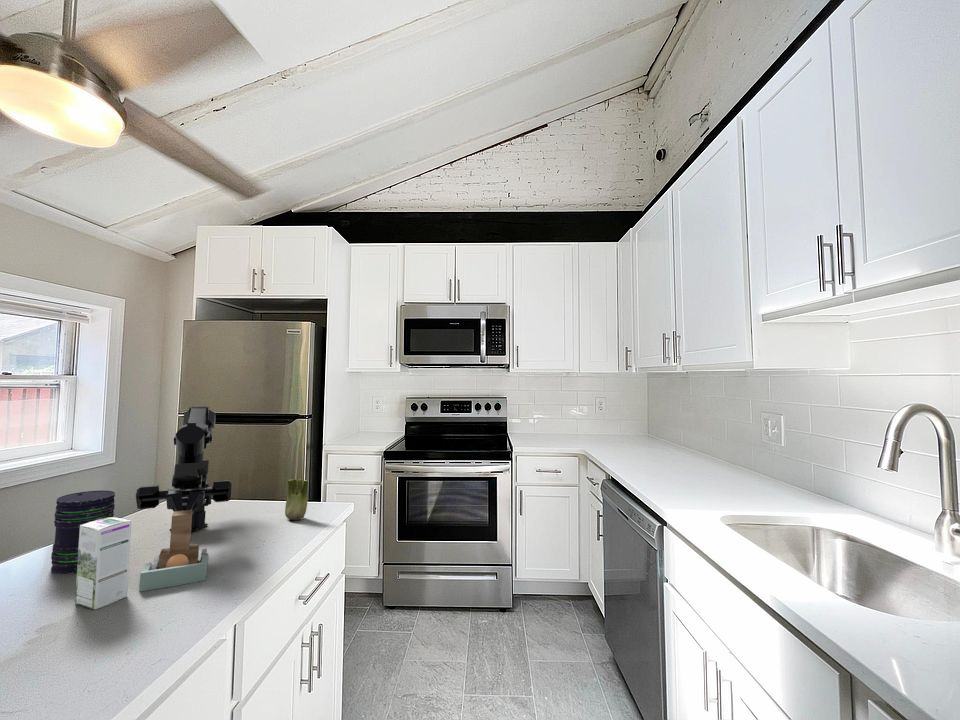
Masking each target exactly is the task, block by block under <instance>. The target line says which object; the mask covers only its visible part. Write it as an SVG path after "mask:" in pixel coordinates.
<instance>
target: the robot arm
mask: <svg viewBox="0 0 960 720" xmlns="http://www.w3.org/2000/svg"><path fill="white" fill-rule="evenodd" d="M182 420H183V421H182V425H181V426H180V428H179V430H177V431H176V433H175V434H174V437H173V445H174V446H176V447H175V448H176V454H177V458H176V464H175V465H174V471H173V475H172V480H171V487H169V488H167V490H160V485H159V484H155V485H154V484H153V485H141V486H140V487H138V488H137V489H136V493H135V500H136V507H137V508H136V509H138V510H148V509H150V510H151V509H155V508H156V507H158V506H160V501H165V500H166V509H167V510H172V512H175V511H185V510H192V523H191V533H193V532H195V530H196V531H198V530H200V528H201V529H203V528H205V527H208V526H209V523H206V507H208V506H209V505H212V501H213V502H215V503H222V502H223V503H224V502H229V501H230V500H231V497H232V484H233V483H232V481H231V480H230V479H224V480H223V479H222V480H213V482H212V484H213V485H212V486H210V483H208V475H209V469H210V468H209V466H210V460H205V450H206V449H207V447H208V445H209V446H210V444H211V443H212V441H213V438H214V435H213V434H212V433H213V429H216V427H215V426H216V413H215V412H214V411H212V410H211V409H210V407H209V406H208V405H192V406H189V409H188V410H187V411H185V412H184V413H183V419H182ZM207 525H208V526H207ZM202 527H203V528H202ZM169 532H171V528H170V529H169Z"/></svg>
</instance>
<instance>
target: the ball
mask: <svg viewBox="0 0 960 720" xmlns="http://www.w3.org/2000/svg"><path fill="white" fill-rule="evenodd" d="M188 563H189V560H188V558H187V556H185V555H183V554H177V555H174V556H172V557H171V558H170V559H169V560H168V561H167V563H166V568H169V567H176V566H183V565H188Z"/></svg>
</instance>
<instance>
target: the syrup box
mask: <svg viewBox="0 0 960 720" xmlns="http://www.w3.org/2000/svg"><path fill="white" fill-rule="evenodd" d="M131 536H132V520H130V519H124V518H120V517H116V516H115V517H114V516H113V517H108V518H103V519H99V520H95V521H92V522H89V523H86V524H83V525H80V532H79V547H78V564H77V573H76V579H75V580H76V582H75V584H76V585H75V599H74V604H75V605H79V606H82V607H84V608H88V609H91V610H94V611H95V610H98V609H100V608H103V607H105V606H106V607H107V606H108V605H111V604H113V603H116V602H117V601H120V600H121V599H124V598H126V597H128V592H129V591H128V588H129V574H130V573H129V571H130V556H131V555H130V554H131V552H130V551H131V549H130V548H131V539H132V538H131Z"/></svg>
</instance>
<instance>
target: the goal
mask: <svg viewBox="0 0 960 720" xmlns="http://www.w3.org/2000/svg"><path fill="white" fill-rule="evenodd" d="M208 561H209V554H206V555H203V557H202V563H200V562H197V563H196V564H189V565H183V566H176V567H169V568H163V569H158V568H157V569H156V570H151V566H152V562H148V563H145V564H144V567H143V569H142V571H140V574H139V586H138V587H139V589H138V592H139V593H140V592H144V591H146V592H147V591H152V590H156V589H157V590H159V589H164V588H168V587H169V588H170V587H175V586H180V585H181V584H182V585H185V584H186V585H188V584H193V583H192V582H194V583H199V582H198V581H200V582H205V580H207V573H208V572H207V571H208ZM187 583H188V584H187Z"/></svg>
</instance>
